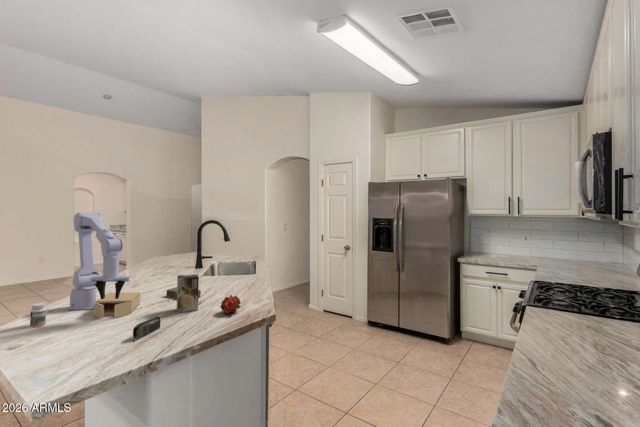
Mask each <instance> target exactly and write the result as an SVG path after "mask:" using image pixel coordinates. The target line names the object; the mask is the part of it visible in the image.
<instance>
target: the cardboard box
mask: <svg viewBox="0 0 640 427" xmlns="http://www.w3.org/2000/svg"><path fill="white" fill-rule="evenodd" d="M115 294H116V292H107V293H105V298H104V299H101V297H99V299H96V303H99V304H102V305H104V314H112V315H114V306H115V305H117V304H121V303H126V302H131V309H130V314H129V315H131V314H132V313H133V312H134V311H135V310H136V309H137V308H138V307H139V306H140V305H141V292H133V291H132V292H120V295H119V298H118V299H115Z"/></svg>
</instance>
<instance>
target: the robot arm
mask: <svg viewBox="0 0 640 427" xmlns="http://www.w3.org/2000/svg"><path fill="white" fill-rule="evenodd" d="M103 220H104V217H103V215H102V213H101V212H76V214H75V215H74V217H73V226H74V231H75V232H77V233H78V244H79V245H78V246H79V247H78V248H79V262H80V268H78V269H77V270H75V271H74V273H73V276H72V277H73V278H72V285H73V286H72V287H73V288H72V290H71V291H70V294H69V308H68V310H69V311H70V310H71V311H74V310H75V311H76V310H78V311H79V310H93V309H94V308H95V303H96V301H97V291H98V294H99V298H101V299H104V298H105V295H106V285H107V284H106V283H107V282H108V283H109V282H112V283H113V282H115V283H114V286H115V293H116V294H115V299H118V298H119V295H120V293H121V291H122V289H123V286H124V285H125V283H129V282H130V281H131V276H126V275H125V276H123V275H119V273H120V252H121V251H122V250H123V246H124V244H123V241H122V239H121V238H120V237H116V236H115V235H114V233H113V232H112V231H111V229H109V228H106V226H104V224H103ZM93 232H95V237H96V239H97V241H98V242H99V243H100V249H101V255H102V256H101V257H103V259H102V260H103V261H102V275H101V271H100V269H99V268H98V267H95V266H94V252H93V237H92V234H93Z"/></svg>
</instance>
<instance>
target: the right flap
mask: <svg viewBox="0 0 640 427" xmlns="http://www.w3.org/2000/svg"><path fill="white" fill-rule="evenodd" d="M130 309H131V302H126V303H121V304H117V305H115V306H114V314H113V317H114V319H115V318H116V319H117V318H120V317H123V316H127V315H131V314H130Z"/></svg>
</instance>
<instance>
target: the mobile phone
mask: <svg viewBox="0 0 640 427" xmlns="http://www.w3.org/2000/svg"><path fill="white" fill-rule="evenodd" d="M160 327H161V317H160V316H154V317H152V318H150V319H147V320H144V321H142V322H139V323H138V324H137V325H136V326H134V327H133V330H132V337H133V338H134V339H133V340H132V342H136V341H137V340H139V339H141V338H143V337H146V336H147V335H149V334H151V333H153V332H155V331H157V330H160Z"/></svg>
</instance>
